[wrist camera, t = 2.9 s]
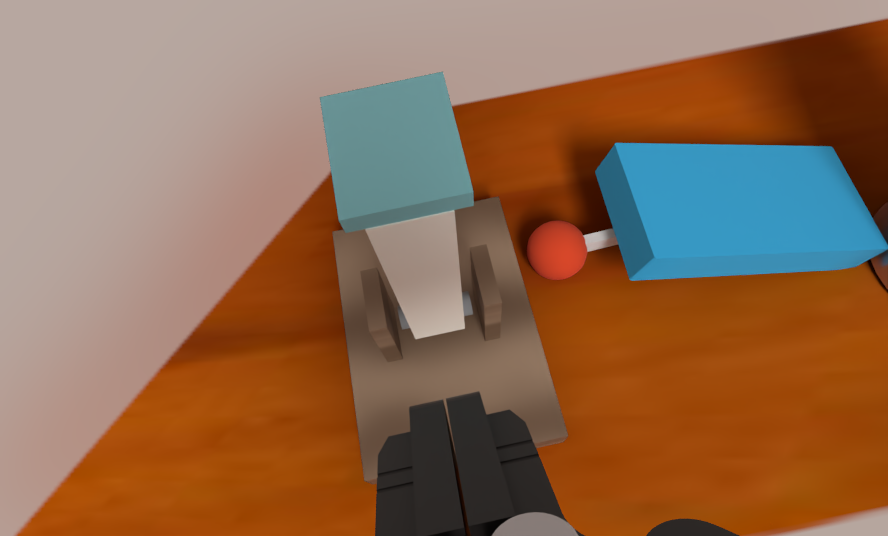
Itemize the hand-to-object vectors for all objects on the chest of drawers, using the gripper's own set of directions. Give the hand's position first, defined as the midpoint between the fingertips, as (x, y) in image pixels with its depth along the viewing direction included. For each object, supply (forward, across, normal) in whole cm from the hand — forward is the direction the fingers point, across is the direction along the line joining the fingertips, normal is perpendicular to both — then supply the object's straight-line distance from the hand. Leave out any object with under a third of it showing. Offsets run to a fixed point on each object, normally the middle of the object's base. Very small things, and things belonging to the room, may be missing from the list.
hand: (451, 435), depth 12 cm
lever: (+21, -15, +5) cm, 26 cm away
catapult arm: (+16, 0, +4) cm, 16 cm away
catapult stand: (+19, 0, +7) cm, 20 cm away
